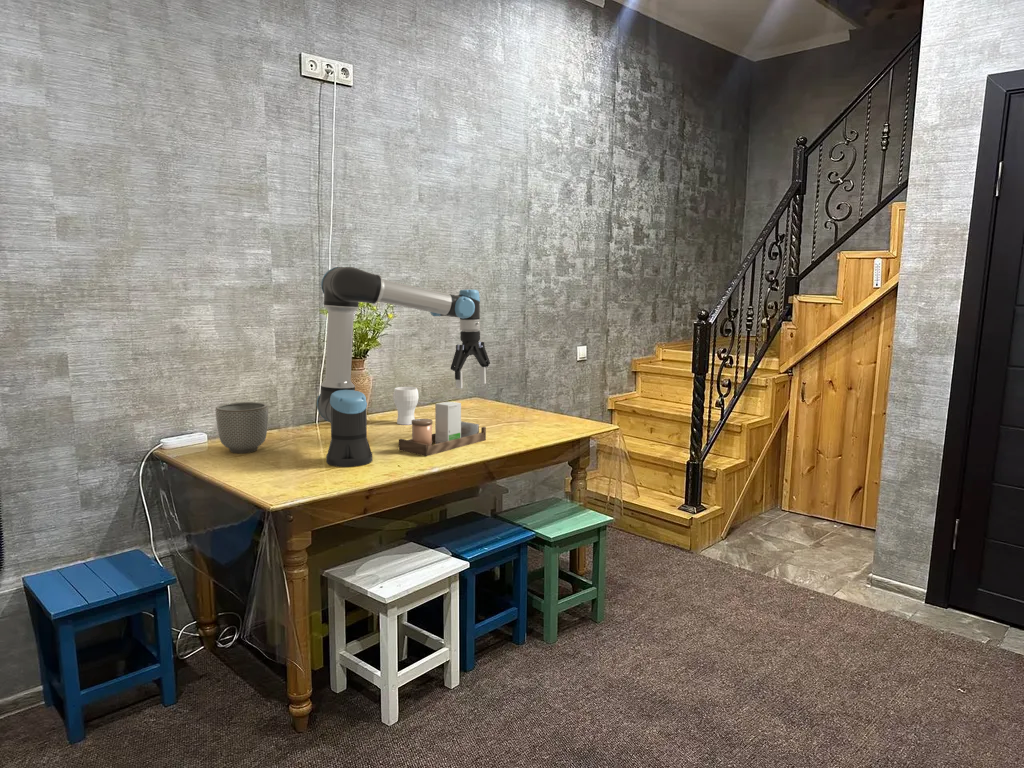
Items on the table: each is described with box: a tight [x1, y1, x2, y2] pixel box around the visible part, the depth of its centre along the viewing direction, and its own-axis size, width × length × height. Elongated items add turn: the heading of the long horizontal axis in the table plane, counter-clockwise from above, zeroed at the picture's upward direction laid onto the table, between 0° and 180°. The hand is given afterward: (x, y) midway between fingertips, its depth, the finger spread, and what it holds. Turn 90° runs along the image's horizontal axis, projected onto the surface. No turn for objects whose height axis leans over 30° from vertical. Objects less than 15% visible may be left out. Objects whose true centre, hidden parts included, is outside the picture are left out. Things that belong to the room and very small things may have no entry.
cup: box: [392, 386, 420, 426], centre depth 300 cm, size 11×11×15 cm
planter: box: [215, 401, 269, 454], centre depth 249 cm, size 17×17×16 cm
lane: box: [398, 426, 487, 457], centre depth 263 cm, size 33×13×5 cm, turn 143°
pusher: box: [461, 420, 480, 438], centre depth 275 cm, size 5×10×6 cm, turn 53°
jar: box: [411, 418, 433, 446], centre depth 253 cm, size 7×7×11 cm
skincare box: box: [434, 401, 462, 445], centre depth 264 cm, size 8×7×16 cm
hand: (471, 385), depth 272 cm, fingers open, 13 cm apart
